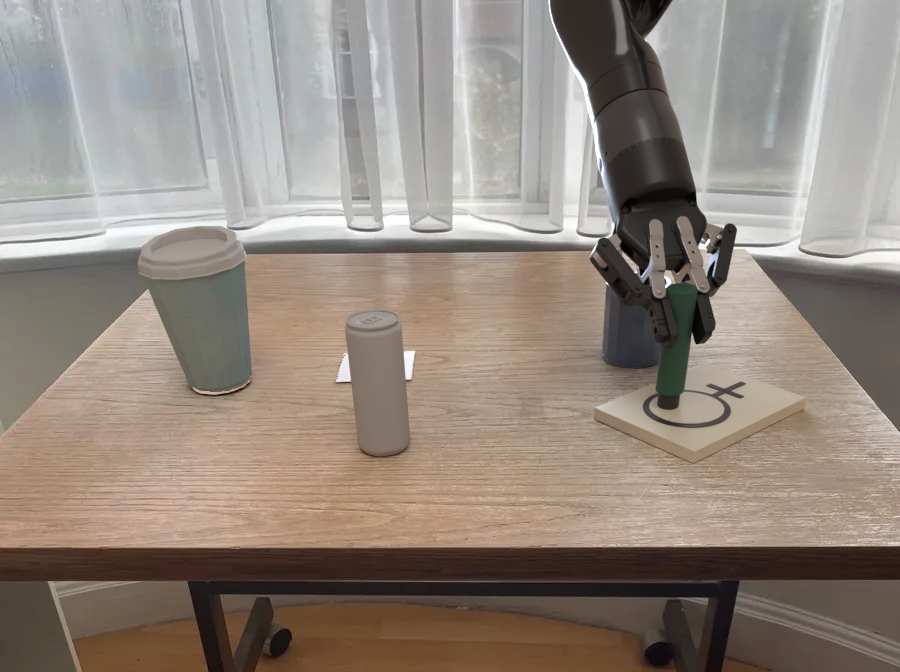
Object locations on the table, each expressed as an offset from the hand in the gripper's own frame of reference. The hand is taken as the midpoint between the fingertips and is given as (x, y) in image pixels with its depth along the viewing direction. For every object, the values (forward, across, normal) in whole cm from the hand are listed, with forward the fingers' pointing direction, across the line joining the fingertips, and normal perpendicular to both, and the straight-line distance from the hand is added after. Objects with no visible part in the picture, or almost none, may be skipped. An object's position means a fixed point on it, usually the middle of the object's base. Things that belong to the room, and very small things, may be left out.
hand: (687, 341), depth 78 cm
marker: (+3, 0, +6) cm, 7 cm away
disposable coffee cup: (-12, -41, +24) cm, 49 cm away
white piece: (-11, -24, +23) cm, 35 cm away
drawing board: (+4, +3, +7) cm, 9 cm away
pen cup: (-7, +3, +18) cm, 20 cm away
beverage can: (+2, -27, +10) cm, 28 cm away
